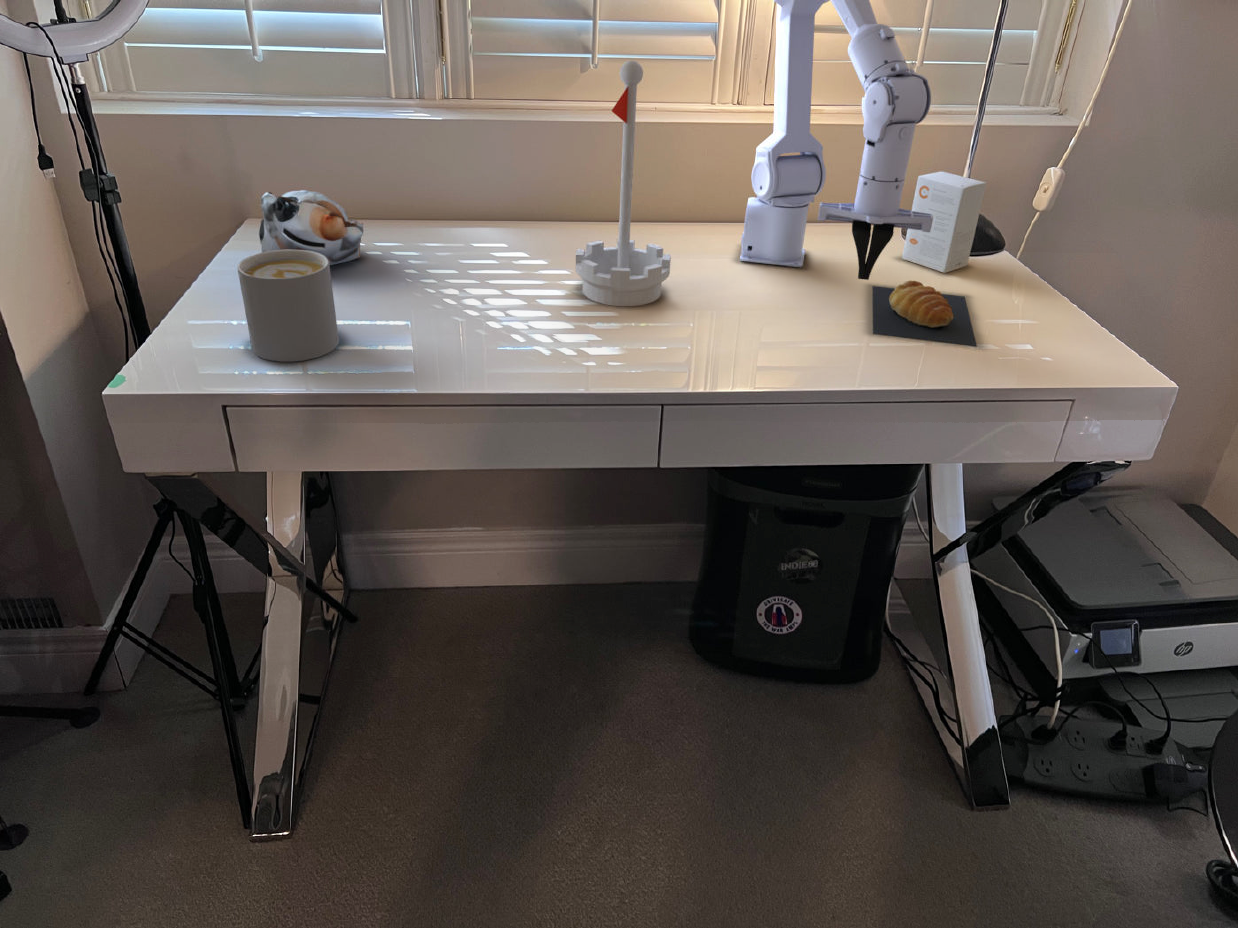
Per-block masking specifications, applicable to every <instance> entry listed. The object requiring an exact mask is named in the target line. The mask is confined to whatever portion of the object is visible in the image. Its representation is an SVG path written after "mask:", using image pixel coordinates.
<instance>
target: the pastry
mask: <svg viewBox="0 0 1238 928" xmlns="http://www.w3.org/2000/svg"><path fill="white" fill-rule="evenodd" d="M942 294H943V293H942V292H940V291H938V290H936V289H935V287H933V286H931V285H924V284H923V283H922V282H920V281H917V280H907V281H904V283H902V284H899V285H898V286H897V287H896V288H895V290H894V291H893V292H892V294H891V295H890V297H889V301H890V304H891V307H892V310H895V311H896V312H897V314H899V315H900V316H902V317H903V318H904V317H905V318H906V319H908V320H909V321H912V322H913V323H916V324H918V325H922V326H923V325H925V326H929V327H931V328H933V327H938V326H945V325H948V324H949V323H950V322H951V320H952V319H953V317H954V316H953V313H952V311H951V306H950V305H948V301H947V300H946V299H944V297H943V296H942Z"/></svg>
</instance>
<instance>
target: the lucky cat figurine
mask: <svg viewBox="0 0 1238 928" xmlns="http://www.w3.org/2000/svg"><path fill="white" fill-rule="evenodd" d="M260 210H261V211H262V216H263V218H262V219H261V221H260V225H259V231H258V235H259V236H258V237H259V242H260V246H261V253H263V252H268V251H275V250H306V251H313V252H316V253H320V254H322V255H324V256H325V257H326V258H327V259H328V261H329V266H334V265H337V264H342V263H346V262H349V261H354V260H355V261H356V260H359V259H360V258H361V242H362V237H363V235H364V223H360V222H359V221H358V220H357V219H349V217H348V213H347V211H346V210H345V208H344V207H343V206H342V205H341V204H339V203H338V202H337V201H335V200H333V199H329V198H328V196H326V195H324V194H322V193H320V192H318V191H309V190H306V189H303V190H302V189H301V190H292V191H290V190H289V191H287V192H285V193H283V194H282V195H279V196H276V195H274V194H273V192H272V191H267V192H265V193H264V194H263V195H261V196H260Z"/></svg>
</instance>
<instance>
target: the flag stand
mask: <svg viewBox="0 0 1238 928" xmlns="http://www.w3.org/2000/svg"><path fill="white" fill-rule="evenodd" d="M619 78H620V80H621V82H622V83H623V84H624V91H623V93H622V94H621V96H620V97H619V98H618V100H617V102H616V103H615V105H614V106H613V107H612V109H611V112H612V113H613V114H614V115H615V116H616V117H618V118H619V119H620V120H621V121H622V122H623V123H622V147H621V166H620V167H621V171H620V173H621V174H620V193H619V196H620V197H619V221H618V238H617V239H616V246H606V247H605V246H604V244H605V242H603V241H602V240H595V241H594V240H593V241H590V242H587V243H586V244H585V249H583V248H576V251H575V273H576V275H578V277H580V278H581V279H582V293H583V295H584V296H585V297H586V298H587V299H590V300H591V301H593V302H596V303H599V304H603V305H606V306H607V305H608V306H613V307H614V306H615V307H636V306H643V305H648V304H650V303H654V302H655V301H657V300H658V299H659V298H660V296H661V295H662V283H663V282H665V281H666V280H667V279H668V278H669V277H670V274H671V273H670V272H671V262H672V261H671V260H672V256H671V254H670V253H664V247H662V246H660V245H657V244H654V243H649V244H646V247H645V248H646V249H643V248H636V246H635V243H636V242H635V241H636V240H635V239H631V222H632V221H631V220H632V199H633V198H632V197H633V179H634V177H633V175H634V156H635V135H636V134H635V133H636V113H637V112H636V111H637V93H638V91H637V90H638V84H640V82H642V80H643V78H644V70H643V66H642V65H641V64H640V62H638V61H636V60H627V61H625V62H624V63H623V64H622V65H621V67H620V69H619Z"/></svg>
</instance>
